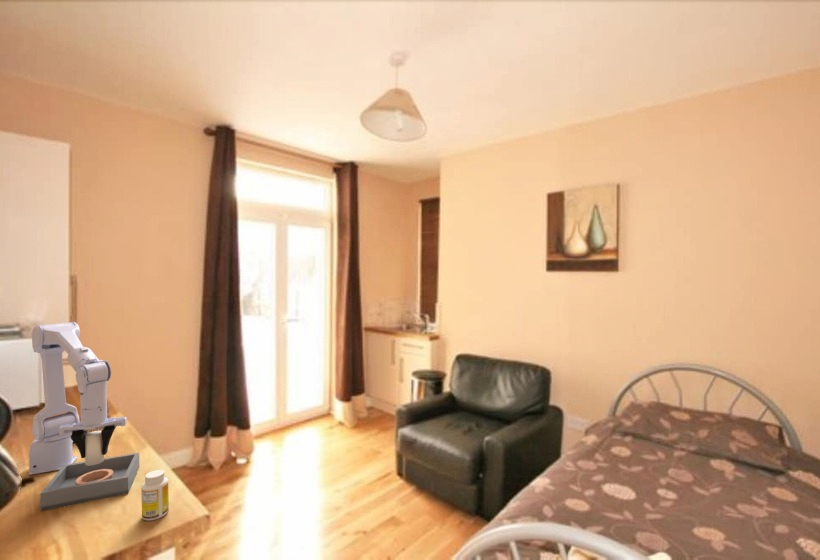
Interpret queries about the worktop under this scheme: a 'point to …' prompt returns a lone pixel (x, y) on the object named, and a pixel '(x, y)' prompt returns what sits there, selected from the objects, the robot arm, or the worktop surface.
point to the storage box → (90, 482)
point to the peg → (93, 448)
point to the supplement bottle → (154, 495)
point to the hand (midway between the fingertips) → (94, 455)
